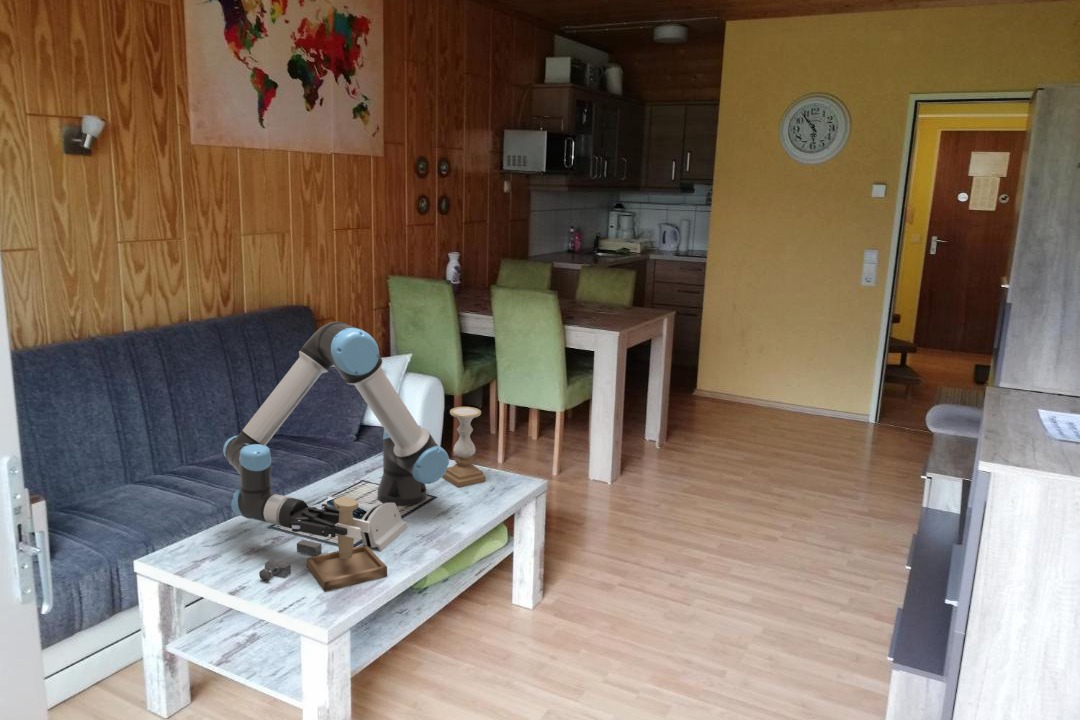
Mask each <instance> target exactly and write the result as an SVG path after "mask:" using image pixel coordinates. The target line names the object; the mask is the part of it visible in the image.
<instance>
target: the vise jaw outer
mask: <svg viewBox="0 0 1080 720" xmlns="http://www.w3.org/2000/svg"><path fill="white" fill-rule="evenodd" d="M291 566H292V565H291V563H287V562H284V561H280V560H276V559H274V558H273V559H271V558H270V559H268V560H267V561H266V562H264V568H262V569H261V570H260V571H259V573H258V575H259V578H260V580H261V581H263V582H268V581H270V580H271V578H272V576H273V575H274V576H277V577H281V578H284V579H285V578H286V577H287V576H290V574H291V573H292V567H291Z"/></svg>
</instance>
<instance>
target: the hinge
mask: <svg viewBox="0 0 1080 720" xmlns="http://www.w3.org/2000/svg"><path fill="white" fill-rule="evenodd" d="M360 520H364V521H369V522H370V532H369V533H366V532H362V531H361V540H362V546H363V545H367V546H368V547H369V548H371V549H374V548H378V551H379V552H382V551H383V550H385V549H386V548H387V547H388V546H389V545H390V544H391V543H393V542H394V541H395V540H396V539H398V537H400V536H401V535H402V534H403V533H404V532H405V531H406V530H408V528H409V527H408V524H407V522H406V521H405V520H403V519H402V516H401V513H400V511H399V508H398V505H396V504H395V503H380V504H377V505H375V506H373V507H370V509H368V510H367V512H366V513H365V514H364V515H363V517H362V518H361V519H360ZM400 534H401V535H400Z"/></svg>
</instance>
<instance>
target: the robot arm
mask: <svg viewBox="0 0 1080 720" xmlns="http://www.w3.org/2000/svg"><path fill="white" fill-rule="evenodd" d="M298 355H299V357H298V359H296V361H295V362H294V364H292V366H291V367H290V369H289V370H288V371H287V372H286V373H285V375H284V376H283V377H282V379H281V380H280V381H279V382H278V384H277V386H275V388H274V389H273V390H272V392H271V393H270V394H269V396H268V397H267V398H266V400H264V402H263V403H262V405H261V406H260V407H259V408H258V410H256V412H255V413H254V415H253V416H252V417H251V418H250V420H249V421H248V423H246V425H245V426H244V428H243V429H242V430H241V431H240V432H239V434H238V435H235V436H234V435H233V436H232V437H230V438H228V439H227V440H226V441H225V443H224V445H223V448H222V453H223V455H224V457H225V459H226V461H227V463H228V464H229V465H230V466H232V467H233V469H235V470H236V471H237V473H238V474H239V477H240V479H239V480H240V488H238V489H237V490H236V491H234V493H233V495H232V500H231V501H230V503H231V510H232V511H233V513H234V514H236V515H237V516H240V517H243V518H245V519H248V520H249V519H250V520H251V519H252V520H254V521H255V520H256V521H259V522H263V523H264V522H265V523H267V524H273V525H276V526H278V527H279V526H280V527H283V528H287V529H291V531H292V533H297V532H298V533H303V534H309V535H315V536H319V537H323V538H324V537H325V538H328V537H329V536H330V538H336V535H338V534H339V535H343V536H347V537H351V538H354V540H355V539H356V540H360V539H362V537H361V531H362V532H366V533H369V532H370V522H369V521H364V520H361V519H359V518H355V517H353V526H350V525H346V524H342V523H339V510H337V509H336V508H335V506H333V507H332V506H329V505H328V504H326V503H322V504H321V507H315V506H309V505H308V504H307V503H306V501H304V500H303V499H299V498H293V497H291V496H290V497H289V496H286V495H281V494H277V493H274V492H272V456H271V450H270V448H269V447H268V446H267V445H268V443H270V441H271V439H272V438H273V436H275V434H276V433H277V431H278V430H279V429H280V428H281V426H282V425H283V424H284V422H285V421H286V420H287V419H288V417H289V416H290V415H291V414H292V412H293V411H294V410H295V408H296V407H297V406H298V405H299V404H300V402H301V401H302V399H303V398H304V397H305V396H306V394H307V393H308V392H309V391H310V389H311V388H312V387H313V385H314V384H315V383H316V381H317V380H318V379H319V377H320V376H321V375H322V374H325V373H328V372H329V371H330V370H331V369H332V367H333V366H334V368H335V369H336V370H337V372H338V373H339V375H340V376H341V378H342V379H343V380H344V382H345V383H346V384H347V385H353V386H354V387H355V388H356V390H357V391H358V393H359V394H360V396H361V397H362V399H364V402H365V403H366V404H367V406H368V407H369V409H370V410H371V411H372V414H373V415H374V416H375V417H376V419H377V420H378V422H379V423H380V425H381V426H382V428H383V430H384V431H383V437H382V441H383V442H382V443H383V444H382V446H383V447H382V448H383V451H382V452H383V453H382V454H383V458H382V460H383V462H382V463H383V465H382V466H383V468H382V469H383V474H382V475H381V479H380V481H379V485H378V487H377V499H378V500H379V501H380V502H381V503H383V502H384V503H395V504H396V506H410V505H409V504H411V505H416V504H418V503H421V502H423V501H424V500H426V498H427V486H426V485H430V484H435V483H436V482H438V481H440V480H441V479H442V476H443V475H444V474H445V472H446V471H447V468H448V466H449V464H450V458H449V455H448V453H447V451H446V450H445V449H444V448H443V447H441V446H439V445H438V444H437V442H436V440H435V439H434V438H433V436H432V434H431V433H430V432H429V430H428V429H426V428H425V427H422V426H421V425H419V424H418V423H417V421H416V420H415V418H414V416H413V415H412V413H411V412H410V411H409V410H410V409H408V408H407V405H406V404H405V403H404V401H403V399H402V398H401V397H400V395H399V393H398V392H397V390H396V389H395V387H394V385H393V384H392V383H391V381H390V379H389V378H388V376H387V374H386V373H385V371H384V370H383V369H382V365H383V362H384V361H383V358H382V357H381V355H380V348H379V345H378V343H377V341H376V340H375V339H374V337H372V335H370V333H368V332H366V331H365V330H363V329H362V328H357V327H354V326H351V325H349V324H348V323H345V322H343V321H332V322H331V321H330V322H328V323H326V324H324V325H322V326H321V327H319V328H318V329H317V330H316V331H315V332H314V333H313V334H312V336H310V337H309V338H308V340H307V341H305V343H304V345H303V346H302V347H301V348H300V350H299V351H298ZM384 503H383V504H384ZM415 503H416V504H415Z"/></svg>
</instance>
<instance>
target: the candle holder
mask: <svg viewBox="0 0 1080 720" xmlns="http://www.w3.org/2000/svg"><path fill="white" fill-rule="evenodd" d="M449 414H450V415H451V417H455V418H457V420H458V421H459V426H458V427H457V428H456V431H457V432H458V434H459V438H458V440H457V441H456V442H455V443H454V446H453V453H454V455H455V458H454V462H455V464H454V465H452V466H450V467H447V471H446V472H445V474H444V475H443V476H442V477H441V479H444V480H445V481H446V482H448V483H450V484H451V485H453V486H454V487H456V488H464V487H467V486H474V485H476V484H481V483H485V482H486V481H487V480H486V475H485V474H484V472H483V471H482V470H480V469H479V468H478V467H476V466H475V465H474V464H473V462H474V457H473V456H474V454H476V446H475V444H474V442H473V441H472V439H471V434H472V432H473V431H474V428H473V427H472V425H471V422H472V420H473V419H474V418H478V417H479V416H481V414H482V410H480V409H479V408H477V407H473V406H472V407H471V406H458V407H457V406H456V407H453V408H451V409H450V410H449Z"/></svg>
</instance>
